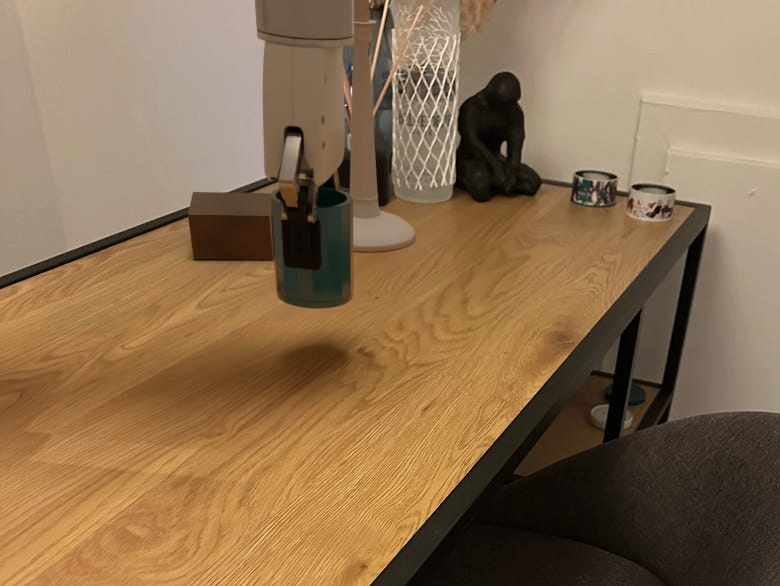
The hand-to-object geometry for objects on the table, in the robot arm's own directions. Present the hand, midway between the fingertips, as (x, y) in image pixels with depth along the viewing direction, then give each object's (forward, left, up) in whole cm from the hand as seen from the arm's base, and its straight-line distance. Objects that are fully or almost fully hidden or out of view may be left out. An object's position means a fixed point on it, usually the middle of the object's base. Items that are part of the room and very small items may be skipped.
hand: (313, 252), depth 84 cm
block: (-17, +28, -10) cm, 34 cm away
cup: (0, 0, -4) cm, 4 cm away
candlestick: (-3, +37, -10) cm, 38 cm away
